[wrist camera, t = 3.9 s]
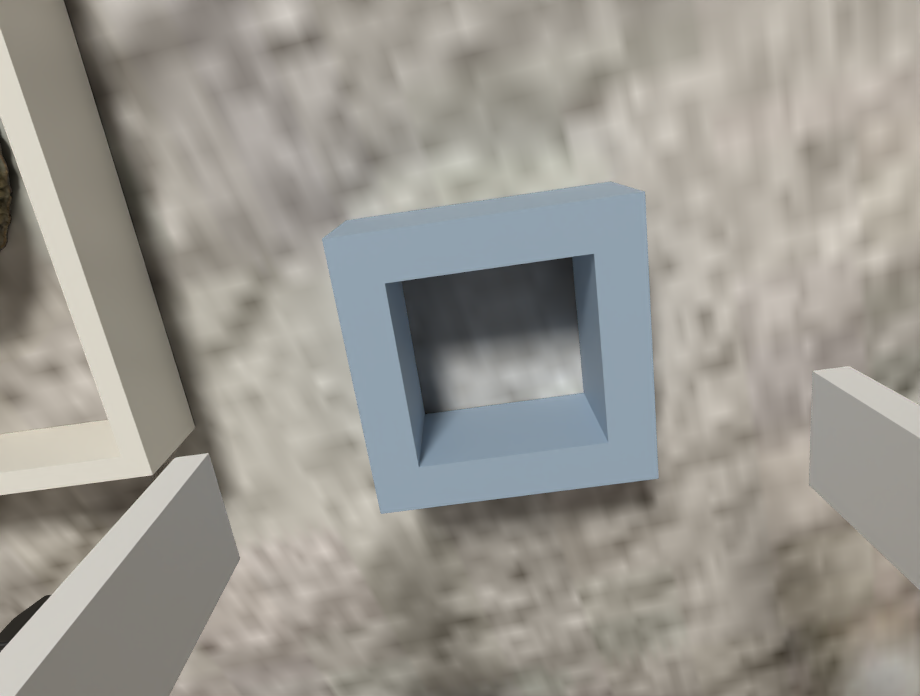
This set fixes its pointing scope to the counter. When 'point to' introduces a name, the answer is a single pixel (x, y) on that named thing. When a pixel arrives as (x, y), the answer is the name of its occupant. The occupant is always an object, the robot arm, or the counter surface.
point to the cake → (4, 201)
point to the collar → (511, 424)
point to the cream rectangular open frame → (84, 265)
